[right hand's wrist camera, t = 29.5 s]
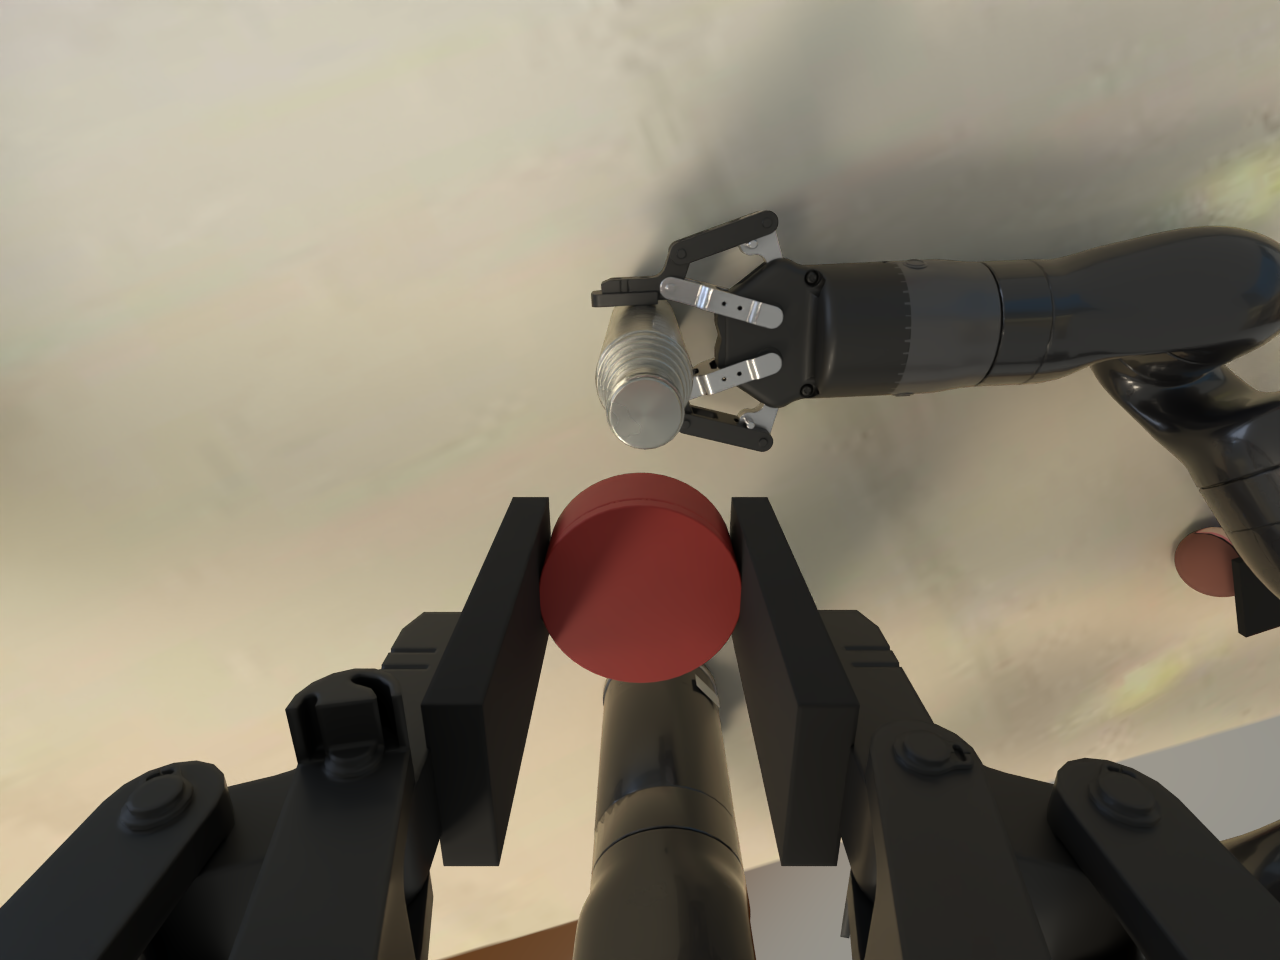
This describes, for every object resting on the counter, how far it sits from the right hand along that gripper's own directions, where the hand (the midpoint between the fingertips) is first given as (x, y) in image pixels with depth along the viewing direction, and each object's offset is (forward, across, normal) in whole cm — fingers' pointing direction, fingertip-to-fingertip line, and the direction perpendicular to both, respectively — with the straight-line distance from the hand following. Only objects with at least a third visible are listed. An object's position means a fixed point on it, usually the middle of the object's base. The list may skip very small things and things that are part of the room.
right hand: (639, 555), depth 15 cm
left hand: (+27, -2, 0) cm, 27 cm away
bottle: (+33, 0, 0) cm, 33 cm away
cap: (-2, 0, 0) cm, 2 cm away
